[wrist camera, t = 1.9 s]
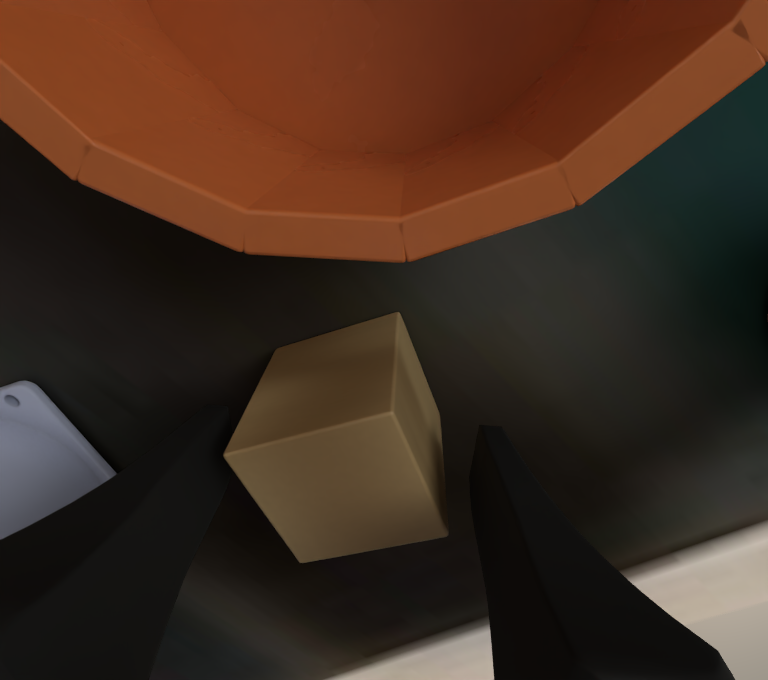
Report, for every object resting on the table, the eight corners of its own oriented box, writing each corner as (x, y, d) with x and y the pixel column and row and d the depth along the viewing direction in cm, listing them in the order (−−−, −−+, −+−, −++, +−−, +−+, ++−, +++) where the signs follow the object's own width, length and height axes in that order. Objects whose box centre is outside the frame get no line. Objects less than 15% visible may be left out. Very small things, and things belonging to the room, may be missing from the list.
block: (328, 442, 17) (299, 565, 13) (275, 347, 15) (220, 456, 11) (440, 414, 16) (450, 537, 12) (399, 309, 14) (393, 412, 10)
